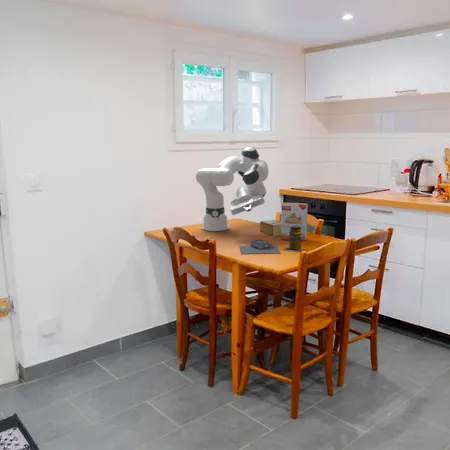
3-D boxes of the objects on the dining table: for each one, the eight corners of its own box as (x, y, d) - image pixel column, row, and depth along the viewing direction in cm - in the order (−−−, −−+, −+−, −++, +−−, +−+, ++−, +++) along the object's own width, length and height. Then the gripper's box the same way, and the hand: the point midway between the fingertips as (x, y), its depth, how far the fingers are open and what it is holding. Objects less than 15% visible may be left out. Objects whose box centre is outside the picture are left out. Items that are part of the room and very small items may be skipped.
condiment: (304, 249, 247) (305, 227, 244) (292, 251, 242) (292, 228, 240) (295, 247, 253) (295, 224, 250) (283, 249, 248) (283, 226, 246)
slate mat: (239, 246, 255) (239, 245, 255) (276, 245, 256) (276, 245, 256) (241, 254, 239) (241, 253, 238) (280, 253, 239) (280, 252, 239)
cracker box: (280, 239, 271) (281, 203, 267) (283, 237, 276) (283, 202, 272) (305, 241, 266) (305, 204, 262) (307, 239, 271) (307, 203, 268)
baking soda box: (260, 231, 294) (272, 236, 280) (260, 221, 293) (272, 225, 279) (273, 230, 298) (286, 235, 284) (273, 220, 297) (286, 224, 282)
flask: (249, 246, 254) (260, 250, 245) (249, 240, 254) (260, 244, 245) (264, 244, 259) (275, 248, 249) (264, 238, 258) (275, 242, 249)
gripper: (264, 198, 279) (268, 208, 266) (231, 211, 280) (234, 221, 268) (260, 189, 276) (264, 198, 264) (227, 202, 278) (230, 212, 265)
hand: (249, 210), depth 266 cm, fingers closed
